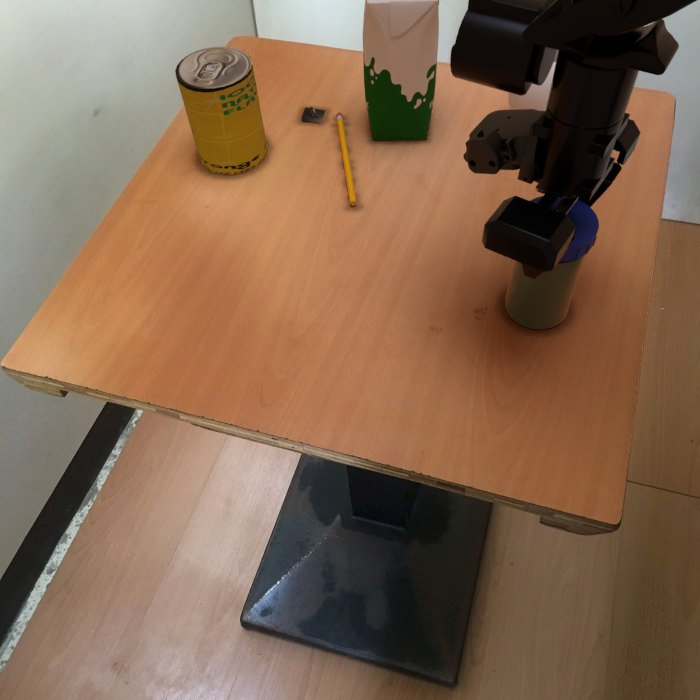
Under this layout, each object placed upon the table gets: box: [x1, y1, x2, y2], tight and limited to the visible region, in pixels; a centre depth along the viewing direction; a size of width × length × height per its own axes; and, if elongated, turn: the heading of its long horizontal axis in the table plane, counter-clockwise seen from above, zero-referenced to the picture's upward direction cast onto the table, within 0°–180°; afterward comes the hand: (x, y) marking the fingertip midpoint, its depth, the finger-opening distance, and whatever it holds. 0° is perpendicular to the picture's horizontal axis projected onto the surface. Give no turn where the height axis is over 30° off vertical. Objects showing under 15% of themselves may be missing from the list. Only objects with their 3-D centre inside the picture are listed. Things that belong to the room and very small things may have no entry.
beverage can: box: [174, 46, 269, 176], centre depth 80 cm, size 9×9×12 cm
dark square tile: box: [300, 106, 326, 124], centre depth 88 cm, size 3×3×1 cm
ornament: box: [507, 50, 559, 111], centre depth 80 cm, size 10×10×12 cm
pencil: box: [335, 112, 357, 207], centre depth 82 cm, size 1×18×1 cm, turn 6°
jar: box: [504, 253, 588, 330], centre depth 63 cm, size 6×6×11 cm
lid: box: [529, 195, 600, 262], centre depth 58 cm, size 7×7×2 cm
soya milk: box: [362, 0, 440, 141], centre depth 79 cm, size 9×9×20 cm
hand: (545, 253), depth 61 cm, fingers closed on jar, lid, 6 cm apart
